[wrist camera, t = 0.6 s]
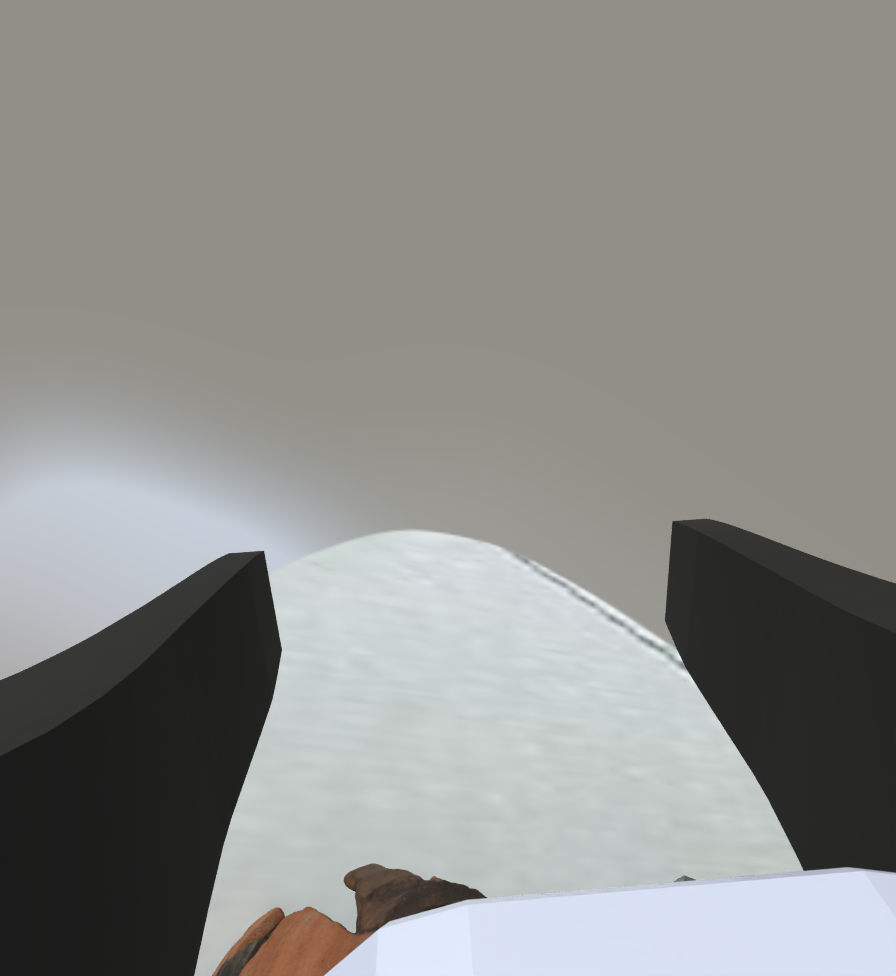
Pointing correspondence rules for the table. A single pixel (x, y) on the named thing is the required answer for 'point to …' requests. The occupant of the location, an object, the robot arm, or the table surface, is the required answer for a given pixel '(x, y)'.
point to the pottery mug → (336, 924)
